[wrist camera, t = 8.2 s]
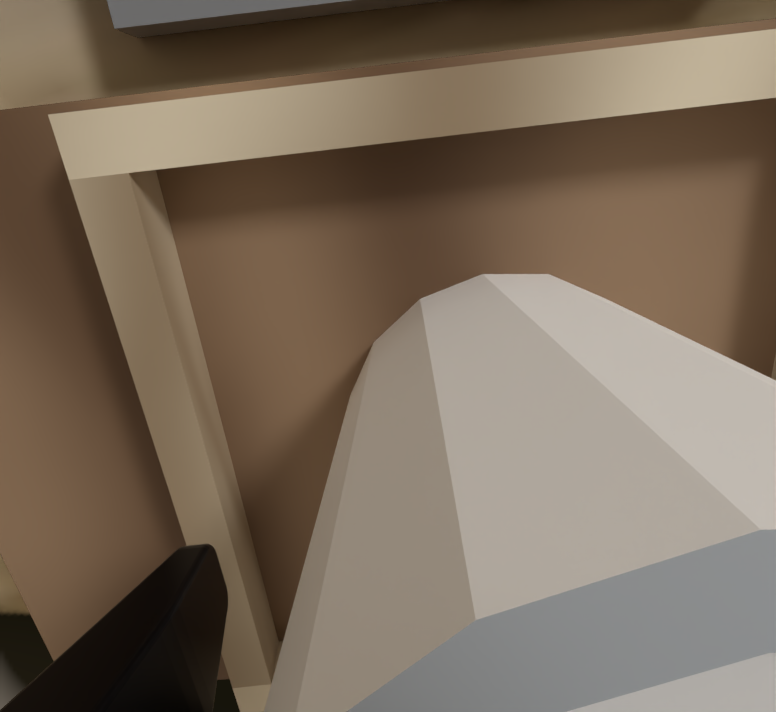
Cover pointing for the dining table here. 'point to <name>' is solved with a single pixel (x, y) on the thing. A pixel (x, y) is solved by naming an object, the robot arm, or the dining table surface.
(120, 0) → the grey square frame
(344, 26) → the dining table surface
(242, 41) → the dining table surface
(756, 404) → the shot glass
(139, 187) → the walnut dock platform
